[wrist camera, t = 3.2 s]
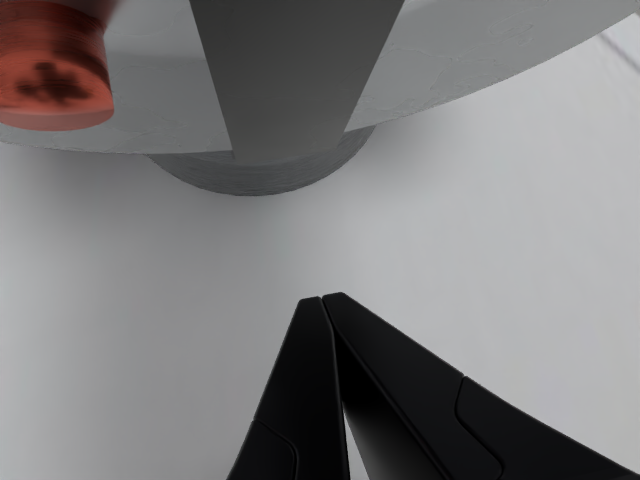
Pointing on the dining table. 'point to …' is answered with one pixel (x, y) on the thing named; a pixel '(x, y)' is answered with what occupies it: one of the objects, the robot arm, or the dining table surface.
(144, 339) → the dining table surface
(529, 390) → the dining table surface
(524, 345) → the dining table surface
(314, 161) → the steel pot
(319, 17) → the pot lid
